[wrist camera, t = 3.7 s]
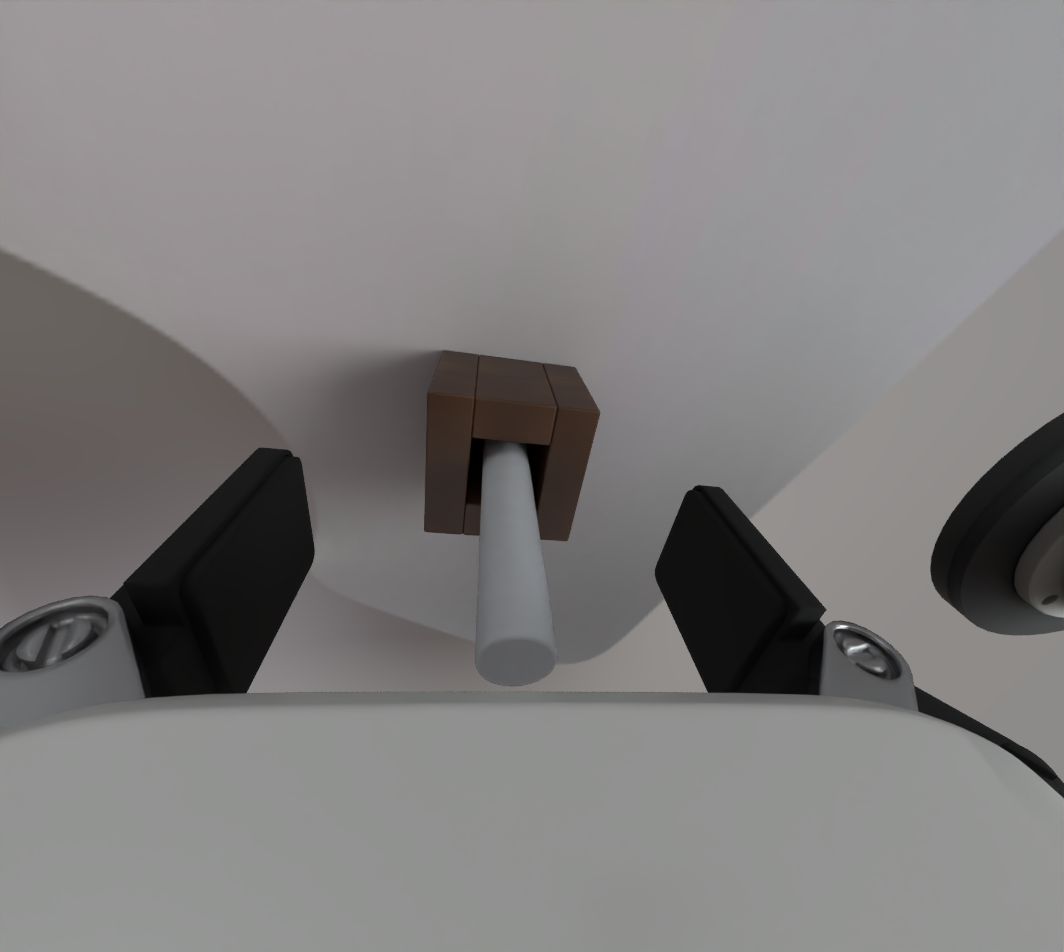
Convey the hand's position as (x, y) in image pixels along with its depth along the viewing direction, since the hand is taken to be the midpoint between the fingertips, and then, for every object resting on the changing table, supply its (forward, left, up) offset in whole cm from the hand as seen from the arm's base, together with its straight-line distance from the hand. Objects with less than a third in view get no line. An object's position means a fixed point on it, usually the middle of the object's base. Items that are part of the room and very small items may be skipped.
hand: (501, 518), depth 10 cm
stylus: (0, 0, -6) cm, 6 cm away
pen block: (0, 0, -6) cm, 6 cm away
